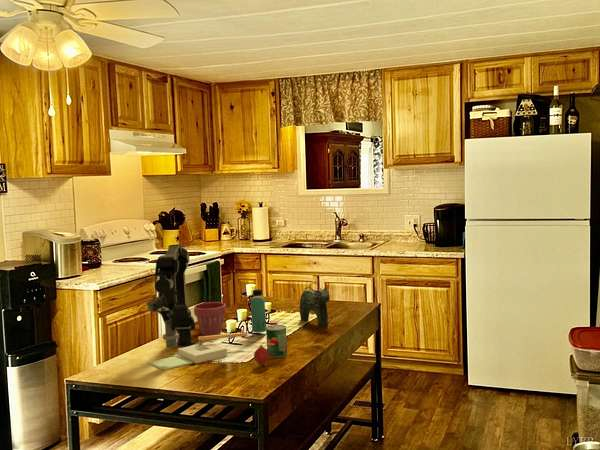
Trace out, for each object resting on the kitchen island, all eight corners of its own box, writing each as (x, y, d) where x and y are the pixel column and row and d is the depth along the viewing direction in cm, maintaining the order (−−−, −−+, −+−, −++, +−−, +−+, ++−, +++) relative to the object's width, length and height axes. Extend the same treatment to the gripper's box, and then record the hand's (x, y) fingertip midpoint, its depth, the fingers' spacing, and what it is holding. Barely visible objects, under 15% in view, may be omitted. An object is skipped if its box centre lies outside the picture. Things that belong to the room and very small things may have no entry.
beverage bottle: (264, 336, 287) (262, 291, 286) (250, 335, 289) (248, 291, 287) (268, 332, 294) (266, 288, 292) (254, 332, 295) (252, 288, 293)
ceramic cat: (332, 325, 302) (330, 282, 300) (320, 328, 298) (319, 284, 297) (307, 318, 318) (305, 277, 317) (296, 320, 315) (294, 279, 313)
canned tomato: (290, 352, 260) (289, 325, 259) (283, 358, 253) (282, 330, 252) (271, 351, 263) (270, 324, 262) (264, 356, 255) (262, 329, 254)
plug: (160, 346, 251) (159, 320, 250) (174, 343, 255) (173, 318, 254) (168, 349, 246) (166, 323, 245) (182, 346, 250) (180, 320, 249)
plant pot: (206, 338, 287) (204, 309, 286) (189, 333, 297) (187, 305, 296) (233, 332, 296) (231, 304, 295) (215, 327, 307) (214, 300, 305)
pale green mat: (149, 363, 252) (149, 362, 252) (177, 357, 259) (177, 355, 259) (163, 370, 242) (163, 368, 242) (192, 363, 250) (192, 361, 250)
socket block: (178, 356, 261) (177, 344, 260) (208, 349, 269) (208, 338, 269) (195, 363, 250) (195, 351, 249) (227, 355, 258) (226, 344, 258)
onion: (254, 364, 246) (253, 343, 245) (269, 363, 246) (268, 342, 246) (254, 368, 240) (253, 347, 240) (270, 367, 241) (269, 346, 240)
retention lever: (198, 340, 264) (198, 337, 264) (198, 339, 266) (197, 336, 266) (247, 336, 269) (247, 333, 269) (246, 334, 271) (246, 332, 271)
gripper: (137, 289, 251) (140, 329, 252) (160, 295, 236) (162, 337, 238) (164, 285, 258) (166, 324, 259) (187, 290, 243) (189, 332, 245)
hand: (170, 329), depth 250 cm, fingers closed on plug, 4 cm apart
